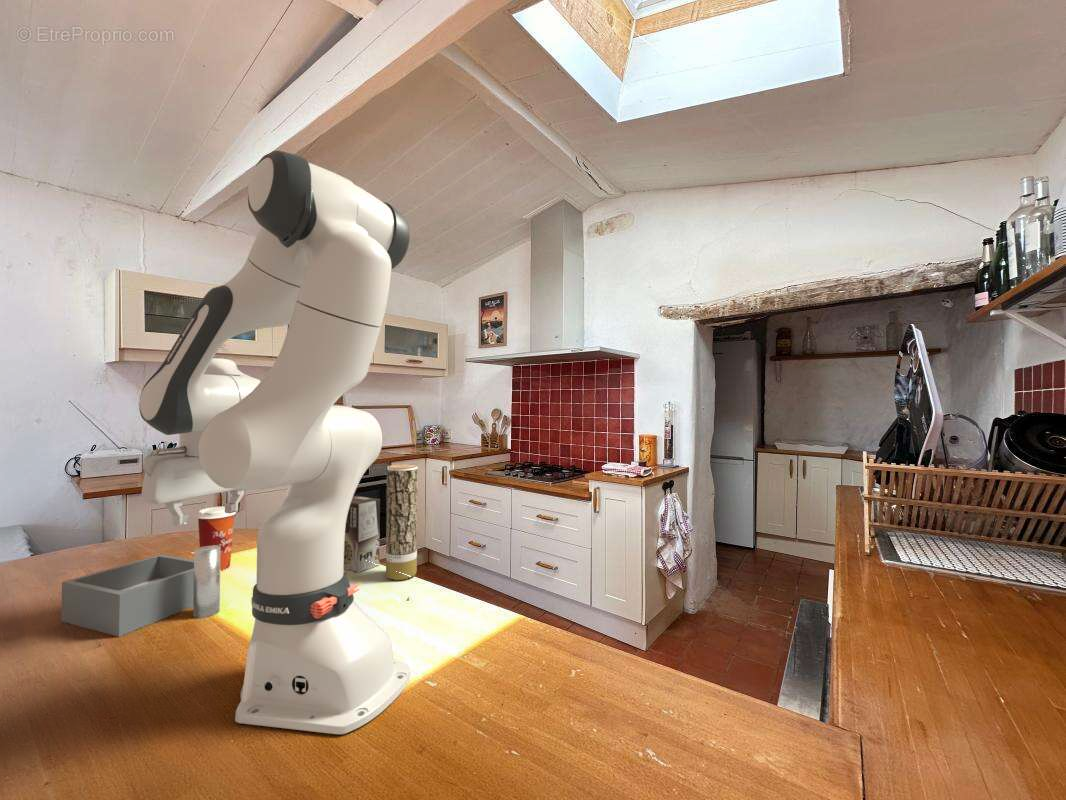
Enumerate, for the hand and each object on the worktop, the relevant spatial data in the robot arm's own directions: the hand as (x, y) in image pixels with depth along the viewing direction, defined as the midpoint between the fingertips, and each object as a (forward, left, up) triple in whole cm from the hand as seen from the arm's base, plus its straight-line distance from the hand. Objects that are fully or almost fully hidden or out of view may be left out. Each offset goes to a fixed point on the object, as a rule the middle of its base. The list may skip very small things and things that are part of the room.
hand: (207, 518), depth 85 cm
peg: (0, 0, -18) cm, 18 cm away
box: (+13, +3, -18) cm, 22 cm away
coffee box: (-9, -30, -18) cm, 36 cm away
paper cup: (+21, -17, -18) cm, 32 cm away
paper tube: (-23, -28, -18) cm, 41 cm away
